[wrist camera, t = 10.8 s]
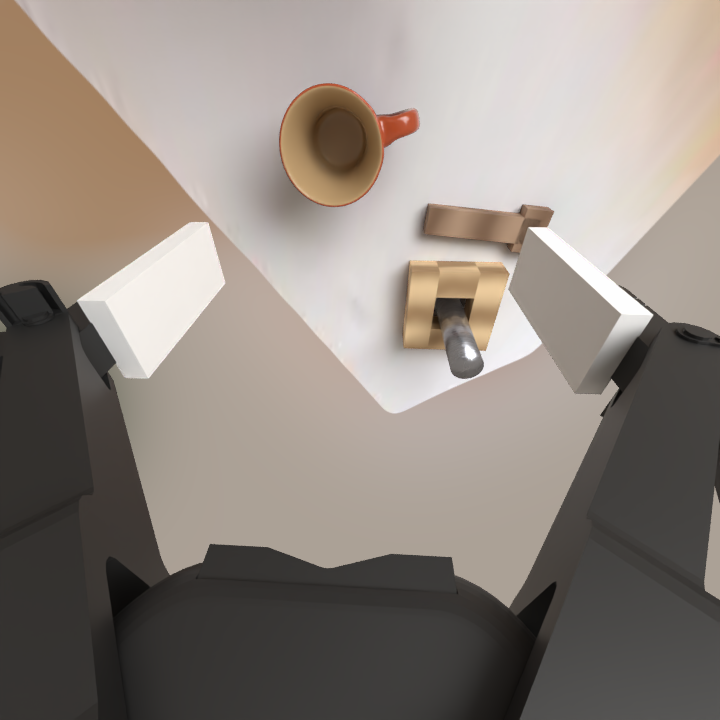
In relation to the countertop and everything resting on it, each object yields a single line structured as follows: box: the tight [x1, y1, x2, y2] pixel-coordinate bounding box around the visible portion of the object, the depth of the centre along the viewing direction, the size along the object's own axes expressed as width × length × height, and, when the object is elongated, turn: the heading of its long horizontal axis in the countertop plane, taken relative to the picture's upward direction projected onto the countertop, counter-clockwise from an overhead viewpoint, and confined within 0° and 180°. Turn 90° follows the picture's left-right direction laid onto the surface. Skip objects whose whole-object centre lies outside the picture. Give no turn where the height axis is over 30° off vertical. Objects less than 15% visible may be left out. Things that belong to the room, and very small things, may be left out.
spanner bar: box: [423, 204, 554, 253], centre depth 40 cm, size 14×5×2 cm, turn 85°
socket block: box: [403, 261, 509, 351], centre depth 46 cm, size 12×12×4 cm
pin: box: [435, 298, 484, 379], centre depth 42 cm, size 4×4×14 cm
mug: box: [279, 83, 420, 207], centre depth 31 cm, size 12×9×10 cm
